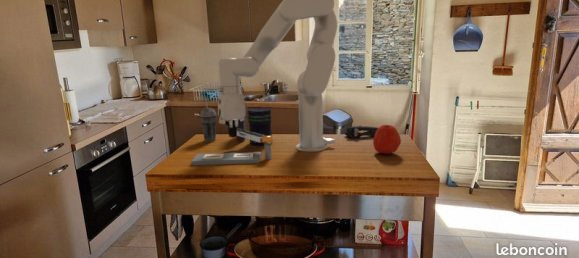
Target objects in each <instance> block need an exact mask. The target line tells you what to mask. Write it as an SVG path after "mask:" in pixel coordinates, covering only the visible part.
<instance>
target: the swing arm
mask: <svg viewBox="0 0 579 258" xmlns="http://www.w3.org/2000/svg"><path fill="white" fill-rule="evenodd" d="M237 136H240V137H244V138H246V139H247V140H249V141H250V140H253V141H257V142H263V143H264V144H270V143H272V144H273V135H272V136H270V135H266V136H265V135H261V134H258V133H254V132H250V130H248V129H247V130H243V129H240V128H238V129H237Z"/></svg>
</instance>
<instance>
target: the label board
mask: <svg viewBox="0 0 579 258" xmlns="http://www.w3.org/2000/svg"><path fill="white" fill-rule="evenodd" d="M261 157H262V152H261V151H246V152H241V151H240V152H218V153H215V152H213V153H197V154H196V155H195V156H194V157H193V159H192V160H191V166H209V165H210V166H213V165H214V166H215V165H240V164H241V165H243V164H244V165H245V164H247V165H248V164H260V162H261ZM264 160H266V161H271V160H272V144H271V143H270V144H264Z"/></svg>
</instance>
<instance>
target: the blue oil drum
mask: <svg viewBox="0 0 579 258" xmlns="http://www.w3.org/2000/svg"><path fill="white" fill-rule="evenodd" d="M247 119H248V122H247V123H248V124H249V125H248V126H249V127H248V128H249V131H250V132H254V133H258V134H261V135H265V136H266V135H270V136H272V137H273V133H272V132H273V131H272V109H271V108H269V107H254V108H249V109H247ZM249 145H250V146H252V147H255V146H256V147H255V148H257V147H259V148H262V146H264V143H263V142H257V141H253V140H250V139H249ZM271 145H273V142H272V143H271Z"/></svg>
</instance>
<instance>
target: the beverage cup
mask: <svg viewBox="0 0 579 258" xmlns="http://www.w3.org/2000/svg"><path fill="white" fill-rule="evenodd" d="M205 103H206V107H204V108H202V110H201V111H200V115H199V118H200V122H201V128H202V132H203V133H202V134H203V138H204V142H206V143H212V142H215V141H216V137H217V136H216V133H217V129H216V128H217V117H218V114H217V112H216V111H215V109H214V108H212V107H208V106H209V105H208V98H207V97H205Z"/></svg>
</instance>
